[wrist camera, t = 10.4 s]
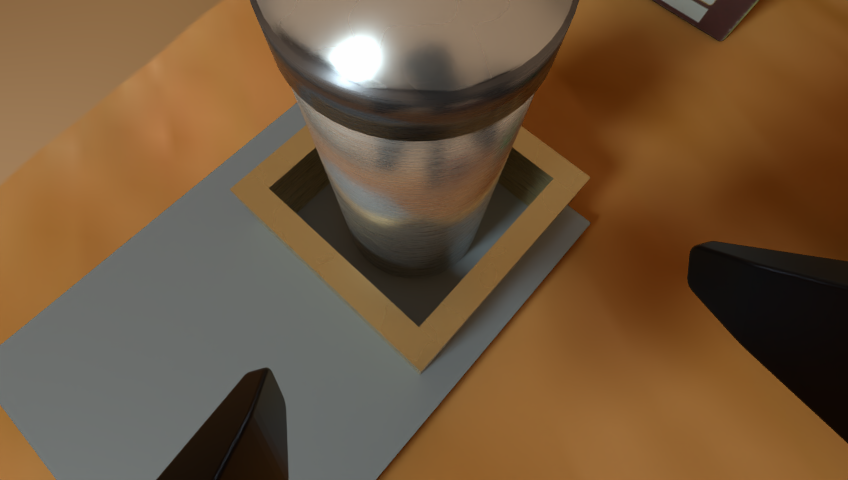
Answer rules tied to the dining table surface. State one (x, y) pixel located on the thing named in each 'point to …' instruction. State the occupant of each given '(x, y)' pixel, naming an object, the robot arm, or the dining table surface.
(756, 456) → the dining table surface
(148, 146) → the dining table surface
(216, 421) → the robot arm
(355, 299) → the tan square tray
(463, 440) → the dining table surface
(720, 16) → the protein box
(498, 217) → the board
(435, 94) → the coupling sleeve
